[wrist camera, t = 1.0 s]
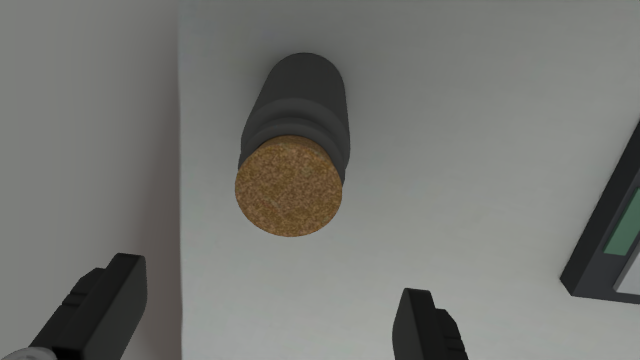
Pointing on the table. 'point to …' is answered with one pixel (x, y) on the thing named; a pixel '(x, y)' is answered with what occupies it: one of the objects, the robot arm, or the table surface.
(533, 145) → the table surface
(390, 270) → the table surface
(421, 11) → the table surface
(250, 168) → the bottle
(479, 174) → the table surface
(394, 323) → the robot arm
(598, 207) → the scale
